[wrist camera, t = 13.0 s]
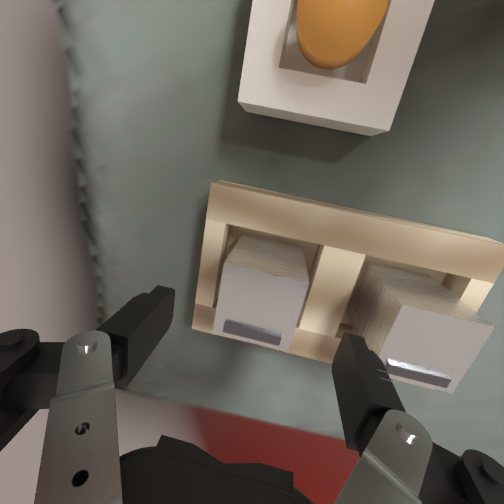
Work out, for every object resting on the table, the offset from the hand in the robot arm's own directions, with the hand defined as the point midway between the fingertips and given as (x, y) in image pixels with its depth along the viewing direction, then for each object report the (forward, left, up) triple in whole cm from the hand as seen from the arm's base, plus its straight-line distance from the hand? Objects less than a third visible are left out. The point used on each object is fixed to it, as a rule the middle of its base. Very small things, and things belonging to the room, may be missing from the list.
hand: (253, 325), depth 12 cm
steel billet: (0, 0, -8) cm, 8 cm away
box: (-14, +1, -8) cm, 16 cm away
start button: (-14, +1, -6) cm, 15 cm away
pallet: (0, +5, -8) cm, 9 cm away
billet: (0, +9, -8) cm, 12 cm away
